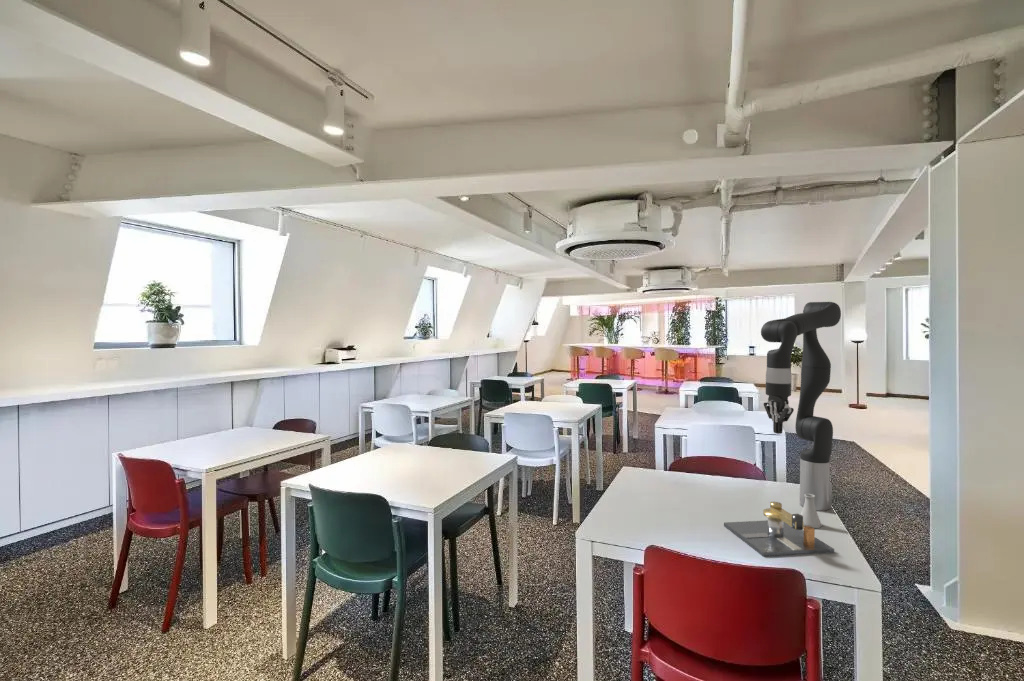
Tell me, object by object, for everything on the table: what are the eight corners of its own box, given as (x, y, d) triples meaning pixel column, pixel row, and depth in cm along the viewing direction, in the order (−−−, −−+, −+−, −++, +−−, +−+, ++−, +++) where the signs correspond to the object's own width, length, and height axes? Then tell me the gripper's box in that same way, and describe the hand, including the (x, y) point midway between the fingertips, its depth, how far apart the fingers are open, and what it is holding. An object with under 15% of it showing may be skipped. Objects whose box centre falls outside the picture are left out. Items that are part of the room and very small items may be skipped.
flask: (821, 530, 162) (822, 500, 162) (796, 526, 166) (796, 496, 166) (822, 523, 168) (822, 494, 168) (797, 518, 172) (797, 490, 172)
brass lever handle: (758, 511, 159) (758, 499, 159) (779, 511, 160) (779, 498, 160) (788, 531, 144) (789, 518, 144) (811, 531, 145) (812, 517, 144)
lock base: (785, 523, 169) (786, 502, 168) (834, 552, 147) (834, 529, 146) (723, 526, 166) (724, 505, 166) (763, 556, 144) (763, 533, 144)
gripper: (802, 383, 159) (801, 437, 160) (776, 378, 172) (775, 428, 173) (780, 384, 158) (779, 438, 159) (756, 379, 172) (755, 429, 172)
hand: (777, 433), depth 166 cm, fingers closed
